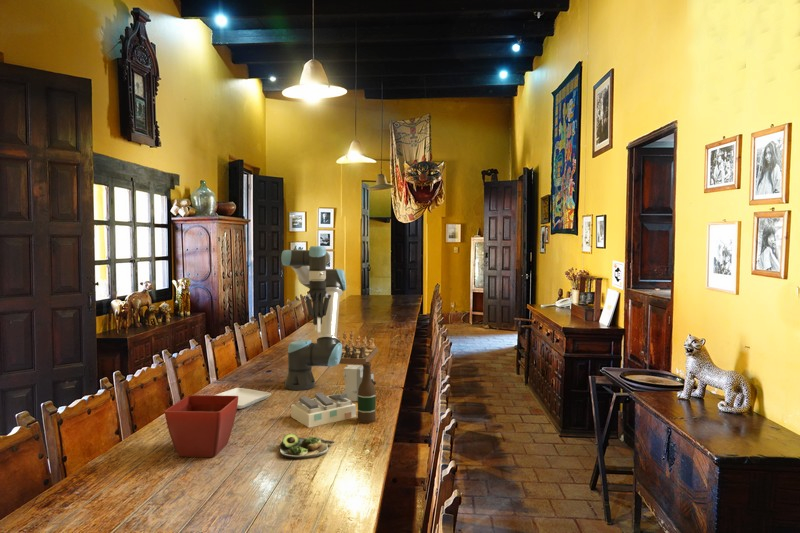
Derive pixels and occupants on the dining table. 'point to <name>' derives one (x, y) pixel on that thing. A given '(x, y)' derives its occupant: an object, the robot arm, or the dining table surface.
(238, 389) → the salad plate
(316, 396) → the block
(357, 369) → the circuit breaker
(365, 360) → the chess set
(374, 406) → the beer bottle
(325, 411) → the console
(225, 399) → the plant pot
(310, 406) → the rocker
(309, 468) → the dining table surface
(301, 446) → the salad plate
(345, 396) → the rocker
